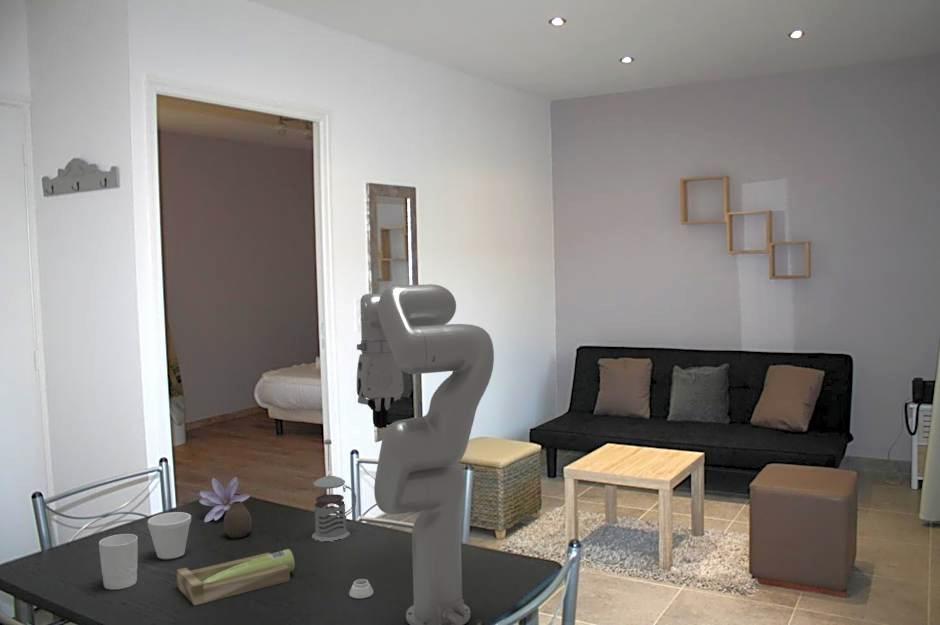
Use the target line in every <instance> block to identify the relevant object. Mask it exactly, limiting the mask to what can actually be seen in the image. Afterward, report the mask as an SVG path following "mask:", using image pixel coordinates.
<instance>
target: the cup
mask: <svg viewBox="0 0 940 625" xmlns="http://www.w3.org/2000/svg"><path fill="white" fill-rule="evenodd" d="M191 522H192V515H191V514H190V513H187V512H182V511H177V512H176V511H173V512H164V513H159V514H157V515H154V516H152V517H151V516H150V518H149V519H148V520H147V528H148V530H149V533H150V536H151V539H152V543H153V547H154V550H155V552H156V553H155V554H156V555H157V556H156V558H158V559H159V560H163V561H170V560H176V559H179V558H181V557H183V556H184V555H185V552H186V546H187V541H188V535H189V531H190V525H191Z"/></svg>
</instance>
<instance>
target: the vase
mask: <svg viewBox="0 0 940 625" xmlns="http://www.w3.org/2000/svg"><path fill="white" fill-rule="evenodd" d="M223 518H224V519H223V527H224V528H223V529H224V531H225V533H226V534H227V535H226V536H228V537H229V538H231V539H241V537H242V538H244V537H246V536H247V535H248V534H249V532H250V531H251V528H252V516H251V514H250V512H249V510H248V509H247V507H246V506H244V504H243V502H241V501H236V502H233V503H232V505H231V507H230V508H229V510H228V511H227V510H226V512H225V515H224V517H223Z"/></svg>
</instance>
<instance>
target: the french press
mask: <svg viewBox="0 0 940 625" xmlns="http://www.w3.org/2000/svg"><path fill="white" fill-rule="evenodd" d="M332 444H333V443H332V440H331V439H329V438H327V439H325V440H324V445H327V460H328V461H327V462H328V463H327V464H328V468H327V469H328V470H330V455H329V454H330V451H329V450H330V448H329V447H330V446H329V445H332ZM345 484H346V480H344V479H343V478H342V477H338V476H336V475H325V476H324V477H320V478H317V479H316V480H315V481H314V482H313V487H315V488H317V489H322V490H323V489H324V490H326V489H327V490H328V494H322V495H318V496H317V497H316V498H315V501H316V503H315V504H314V519H315V520H314V521H315V522H314V523H315V525H314V526H315V532H313V533H312V534H311V539H313V538H314V539H315V540H314V539H313V540H314V541H317V540H319V541H318V542H324V541H330V542H335V541H334V540H338V539H342V540H344V539H343V538H345V537H347V536H348V535H349V536H351V533H350V531H348V529H347V528H348V527H347V526H348V525H347V516H348V515H350V514H351V513H352V512H354V510H355V507H356V505H357V495H356V493H355V492H354V490H353V489H352V488H351V487H350V486H349V485H345ZM340 487H342V490H343V492H344V493H346V489H349V490H350V491H351V492H352V495H353V502H352V504H351V505H352V506H351V507H350V508H349V509H348V510H347V511H346V504H345V501H344V499H345V498H344V495H341V494H338V493H337V494H336V493H335V494H333V493H331V489H337V488H340ZM331 504H332V505H331ZM327 505H329V506H327ZM330 505H331V506H330ZM334 505H336V506H334ZM325 506H327V507H325ZM324 507H325V508H324ZM331 514H333V515H331ZM349 536H348V537H349ZM348 537H347V538H348ZM345 539H346V538H345ZM338 541H339V540H338Z"/></svg>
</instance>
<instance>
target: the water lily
mask: <svg viewBox="0 0 940 625" xmlns="http://www.w3.org/2000/svg"><path fill="white" fill-rule="evenodd" d="M211 485H212V488H213V492H212V491H210V490H202V491H199V495H200V497H202V498H201V499H200V500H199V503H200V504H201V505H203V506H208V507H209V506H210V507H213V508H212V509H211V510H210V511H209V512H208V513H207V514H206V515H205V517H204V519H203V521H204V523H208V522H210V521H212V520H214V521H218V520H219V519H220V518H221V517H222V516H223V515H224V513H226V512H227V511H228V510H229V508H230V507H231V505H232V503H233V502H236V501H241V502H242V503H243V502H245V501H246V500H248V499H249V498H250V495H249V494H239V495H238V494H237V495H236V492H237V489H238V486H239V480H238V477H237V476H235V477H233V478H231V480H230V482H229V483H228V484H227V486H226V487H225V488H224V487H223V485H222V483H221V482H220V481H219V480H218V479H216V478H215V477H213V478H212V479H211Z"/></svg>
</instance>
